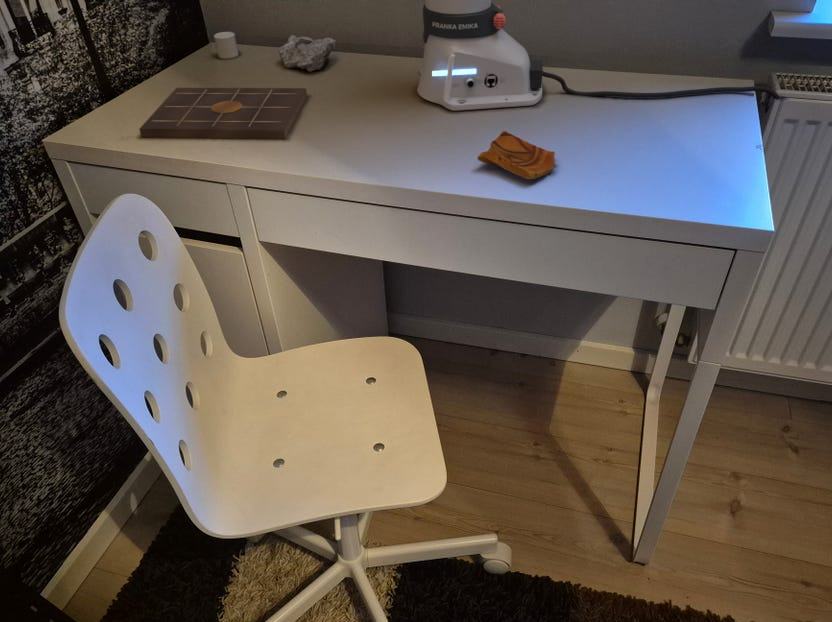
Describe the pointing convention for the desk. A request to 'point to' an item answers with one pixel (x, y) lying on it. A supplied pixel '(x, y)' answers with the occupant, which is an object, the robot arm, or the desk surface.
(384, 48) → the desk surface
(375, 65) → the desk surface
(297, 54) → the mineral specimen
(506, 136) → the pottery fragment
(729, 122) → the desk surface
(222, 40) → the white plastic cylinder
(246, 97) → the board
